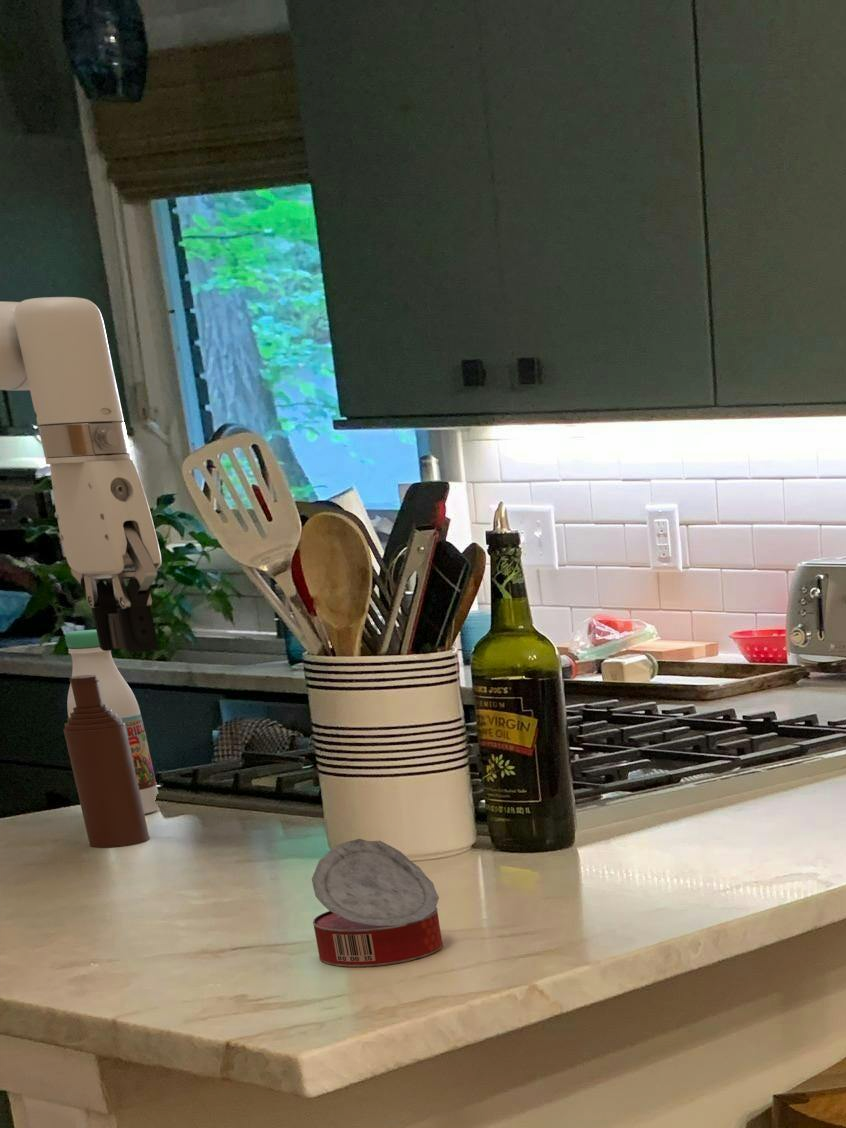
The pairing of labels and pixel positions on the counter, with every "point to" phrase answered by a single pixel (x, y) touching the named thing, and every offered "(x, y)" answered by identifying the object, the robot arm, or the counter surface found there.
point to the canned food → (374, 907)
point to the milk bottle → (114, 705)
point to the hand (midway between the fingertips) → (129, 647)
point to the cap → (115, 631)
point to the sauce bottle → (103, 769)
